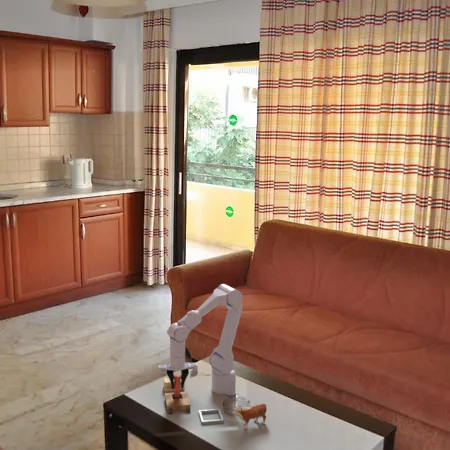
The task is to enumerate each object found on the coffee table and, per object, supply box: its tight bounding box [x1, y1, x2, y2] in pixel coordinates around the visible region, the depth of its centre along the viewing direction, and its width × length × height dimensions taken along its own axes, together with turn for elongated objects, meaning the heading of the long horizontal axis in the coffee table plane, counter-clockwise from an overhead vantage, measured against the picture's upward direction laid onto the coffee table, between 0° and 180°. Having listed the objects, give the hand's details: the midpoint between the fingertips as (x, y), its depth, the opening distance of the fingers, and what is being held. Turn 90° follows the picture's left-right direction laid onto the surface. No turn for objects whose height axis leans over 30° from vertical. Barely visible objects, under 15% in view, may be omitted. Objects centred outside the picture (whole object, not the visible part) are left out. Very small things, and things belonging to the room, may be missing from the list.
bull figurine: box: [232, 403, 267, 431], centre depth 201 cm, size 4×13×8 cm, turn 113°
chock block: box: [163, 377, 185, 393], centre depth 225 cm, size 8×4×5 cm, turn 101°
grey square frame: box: [198, 408, 225, 425], centre depth 204 cm, size 8×8×2 cm
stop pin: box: [173, 374, 182, 397], centre depth 214 cm, size 3×3×8 cm
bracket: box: [189, 367, 212, 378], centre depth 237 cm, size 7×10×4 cm, turn 67°
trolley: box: [164, 391, 192, 415], centre depth 213 cm, size 9×14×3 cm, turn 11°
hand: (177, 387), depth 214 cm, fingers closed on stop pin, 3 cm apart
